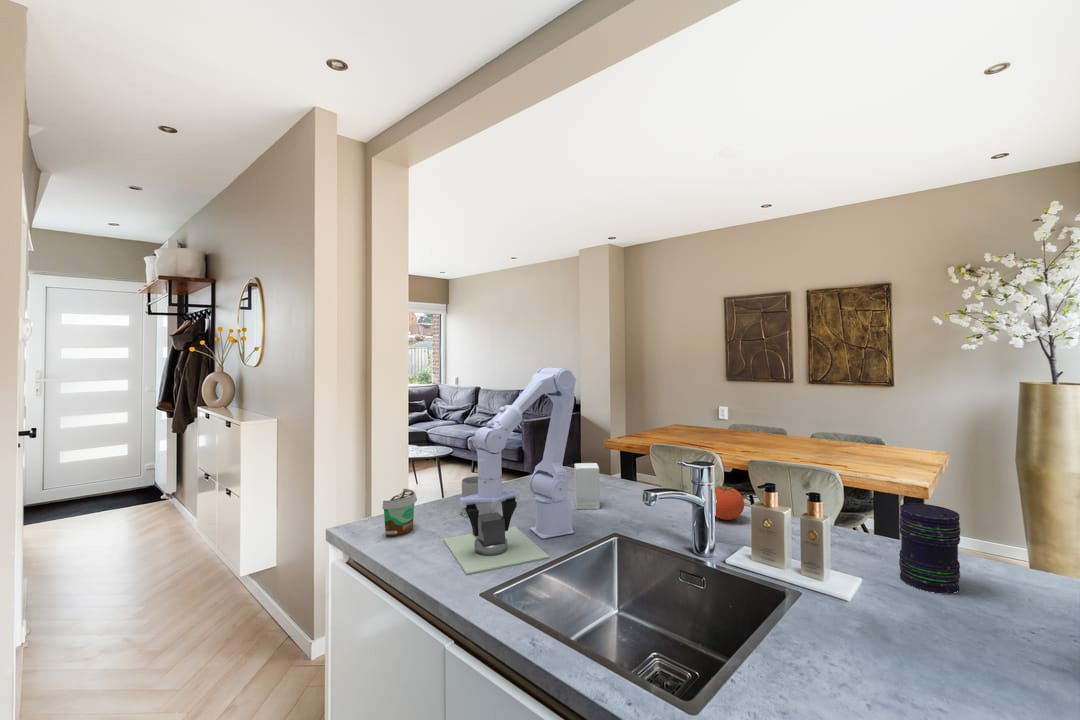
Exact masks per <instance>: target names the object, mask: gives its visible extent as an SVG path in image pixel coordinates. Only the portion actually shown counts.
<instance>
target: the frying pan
mask: <svg viewBox="0 0 1080 720" xmlns="http://www.w3.org/2000/svg"><path fill="white" fill-rule="evenodd" d="M471 534H472V535H473V536H474V537H475V538H476V540H475V542H474V543H475V552H476V553H477V554H479V555H482V556H496V555H500V554H503V553H505V552H506V551H507V549H508V545H507V539H506V538H505V543H504V544H499V545H494V546H488V547H483V546H482V544H481V543H480V542H479V541H478V540H477V536H475V535H474V534H473V530H471Z"/></svg>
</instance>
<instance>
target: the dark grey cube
mask: <svg viewBox="0 0 1080 720" xmlns="http://www.w3.org/2000/svg"><path fill="white" fill-rule="evenodd" d="M477 540H478V541H479V542H480V543H481V544H482V546H483V547H488V546H494V545H499V544H504V543H505V518H504V517H503V515H502V514H501V513H500V512H498V511H496V512H490V513H488V514H482V515H478V536H477Z"/></svg>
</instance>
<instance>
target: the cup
mask: <svg viewBox="0 0 1080 720" xmlns="http://www.w3.org/2000/svg"><path fill="white" fill-rule="evenodd" d="M475 494H478V475H477V476H475V475H473V476H468V477H464V478H462V479H461V498H462V497H467V496H471V495H475ZM476 507H477V509H478V510H479V515H482V514H488V513H491V503H486V504H480V505H476ZM461 511H462V513H463V514H464V515H466V516H468V514H467V512H466V510H465V508H462V507H461ZM462 513H461V514H462ZM463 514H462V515H463ZM464 515H463V516H464ZM466 516H465V517H466Z"/></svg>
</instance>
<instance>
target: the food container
mask: <svg viewBox="0 0 1080 720" xmlns="http://www.w3.org/2000/svg"><path fill="white" fill-rule="evenodd" d="M417 501H418V498H417V494H416V492H415V490H413V489H408V488H402V492H401V493H399V494H397V495H394V496H392V498H391V499H390V500H382V506H381V507H382V510H383V516H384V517H383V518H384V528H385V538H395V537H402V536H405V534H406V535H409V534H410V533H411V531H412V532H413V530H414V518H415V516H414V515H415V504H416V502H417Z"/></svg>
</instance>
